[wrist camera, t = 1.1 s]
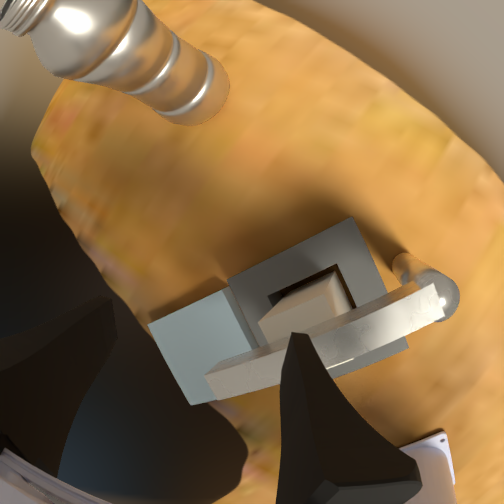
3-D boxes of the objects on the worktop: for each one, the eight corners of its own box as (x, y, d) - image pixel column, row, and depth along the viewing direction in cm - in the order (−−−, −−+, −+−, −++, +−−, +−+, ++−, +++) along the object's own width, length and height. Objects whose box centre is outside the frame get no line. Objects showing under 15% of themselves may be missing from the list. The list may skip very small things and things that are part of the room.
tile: (275, 377, 25) (270, 385, 24) (197, 398, 28) (190, 405, 27) (229, 285, 26) (221, 289, 24) (156, 320, 29) (147, 324, 27)
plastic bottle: (251, 80, 23) (84, -73, 5) (210, 144, 25) (-10, 61, 6) (199, 59, 25) (39, -51, 6) (162, 116, 27) (-26, 48, 8)
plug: (356, 316, 22) (353, 359, 15) (310, 335, 24) (288, 382, 16) (334, 270, 23) (323, 293, 15) (289, 291, 24) (257, 322, 17)
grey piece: (410, 248, 20) (451, 267, 11) (420, 272, 20) (464, 309, 11) (261, 317, 25) (201, 372, 15) (272, 338, 25) (219, 403, 15)
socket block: (403, 333, 21) (409, 347, 18) (293, 377, 25) (284, 394, 22) (352, 217, 22) (352, 216, 19) (241, 273, 25) (226, 279, 22)
